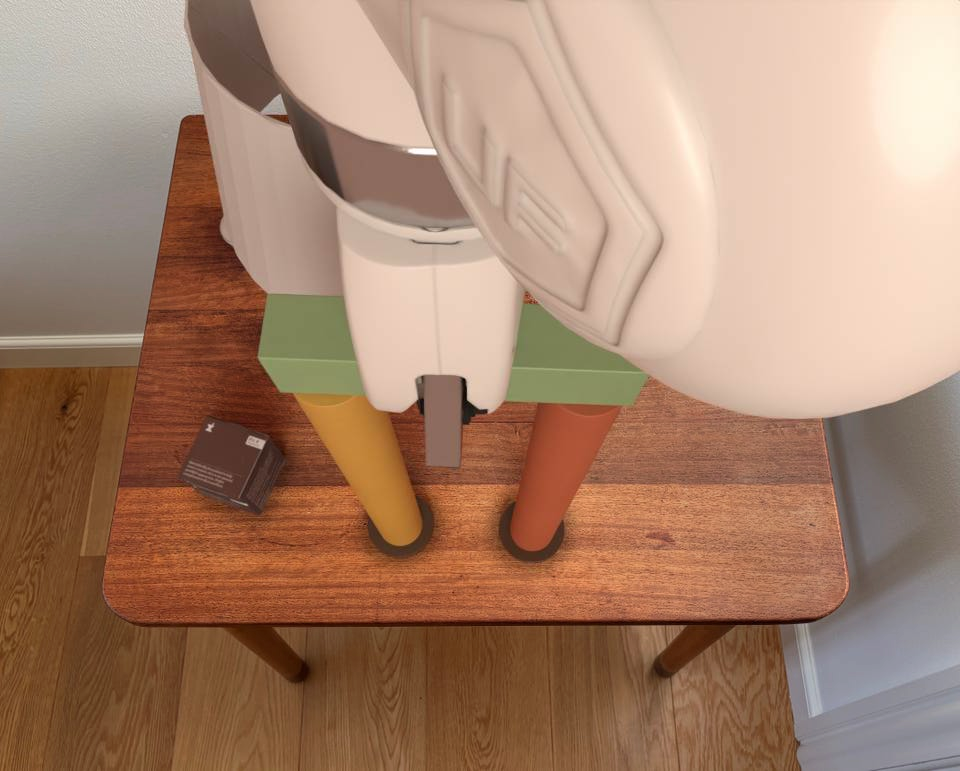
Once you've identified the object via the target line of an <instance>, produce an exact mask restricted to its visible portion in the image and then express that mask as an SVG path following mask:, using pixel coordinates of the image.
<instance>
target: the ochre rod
mask: <svg viewBox="0 0 960 771" xmlns="http://www.w3.org/2000/svg"><path fill="white" fill-rule="evenodd" d="M292 395H293V396H294V398H295V400H296V402H297V403H298V405H299V406H300V408H301V409H302V411H303V413H304V414H305V416H306V417H307V419H308V421H309V422H310V424H311V426H312V427H313V428H314V430H315V432H316V433H317V435H318V436H319V438H320V440H321V441H322V443H323V445H324V446H325V448H326V449H327V451H328V452H329V454H330V456H331V457H332V459H333V461H334V463H335V464H336V465H337V467H338V469H339V470H340V472H341V473H342V474H343V476H344V479H345V480H346V481H347V483H348V485H349V486H350V488H351V489H352V491H353V493H355V495H356V497H357V499H358V501H359V502H360V504H361V505H362V507H363V508H364V510H365V512H366V513H367V515H368V520H367V531H368V535H369V538H370V540H371V542H372V544H373V545H374V546H375V548H376V549H377V550H378V551H379V552H380V553H382V554H383V555H385V556H386V557H387V556H388V557H390V558H393V559H406V558H411V557H413V556H416V555H417V554H419V553H421V552H422V551H423V550H424V549H425V548H426V547H427V546H428V544H429V543H430V541H431V539H432V536H433V534H434V529H435V520H434V515H433V512H432V509H431V508H430V506H429V504H428V503H427V502H426V501H425V500H424V499H423V498H421V497H420V496H418V495H417V494H415V492H414V488H413V486H412V482H411V479H410V475H409V473H408V470H407V466H406V464H405V460H404V456H403V454H402V450H401V448H400V444H399V441H398V438H397V435H396V432H395V429H394V426H393V421H392V419H391V415H390V413H389V411H382V410H377V409H375V408H374V407H373V406H372V405H371V403H370V402H369V400H368V399H367V397H366V396H358V395H333V394H307V393H292Z"/></svg>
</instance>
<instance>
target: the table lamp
mask: <svg viewBox="0 0 960 771" xmlns="http://www.w3.org/2000/svg"><path fill="white" fill-rule="evenodd" d="M183 28H184V31H185V34H186V37H187V41H188V43H189V47H190V53H191V58H192V62H193V67H194V73H195V77H196V82H197V87H198V91H199V96H200V102H201V106H202V111H203V116H204V117H203V118H204V122H205V127H206V133H207V137H208V142H209V147H210V152H211V158H212V163H213V168H214V172H215V173H214V174H215V178H216V183H217V188H218V193H219V199H220V203H221V208H222V214H223V216H224V219H225V224H226V229H227V232H228V235H229V237H230V240H231V242H232V245H233V246H232V245H231V246H232V247H233V249H234V252H235V255H236V257H237V258H238V260H239V261H240V263H241V264H242V266H243V268H245V270H246V272H247V273H248V274H249V276H250V277H251V279H252V280H253V281H254V282H255V283H256V285H258V286H259V288H260V289H262V290H263V291H264V292H265V293H266V295H267V294H293V295H319V296H343V289H342V281H341V272H340V262H339V251H338V236H337V218H336V205H334V204H333V203H332V202H331V201H330V200H329V199H328V198H327V197H326V196H325V195H324V194H323V193H322V191H321V190H320V189H319V188H318V187H317V185H316V184H315V182H314V181H313V179H312V178H311V176H310V175H309V173H308V172H307V170H306V168H305V166H304V164H303V162H302V159H301V157H300V154H299V151H298V148H297V145H296V141H295V138H294V134H293V131H292V128H291V125H290V123H287V122H284V121H281V120H278V119H276V118H273V117H271V116H269V115H265V114H263V113H262V111H263V110H264V109H265V108H266V107H267V106H269V104H270V103H271V102H272V101H273V100H274V99H275V98H276V97H278V96H279V95H281V94H280V91H279V88H278V85H277V82H276V78H275V75H274V72H273V69H272V66H271V63H270V60H269V57H268V54H267V50H266V47H265V44H264V42H263V39H262V36H261V33H260V30H259V27H258V24H257V21H256V17H255V14H254V11H253V8H252V5H251V2H250V0H185V3H184V15H183ZM526 292H527V291H526V290H524V297H523V303H525V296H526Z"/></svg>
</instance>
